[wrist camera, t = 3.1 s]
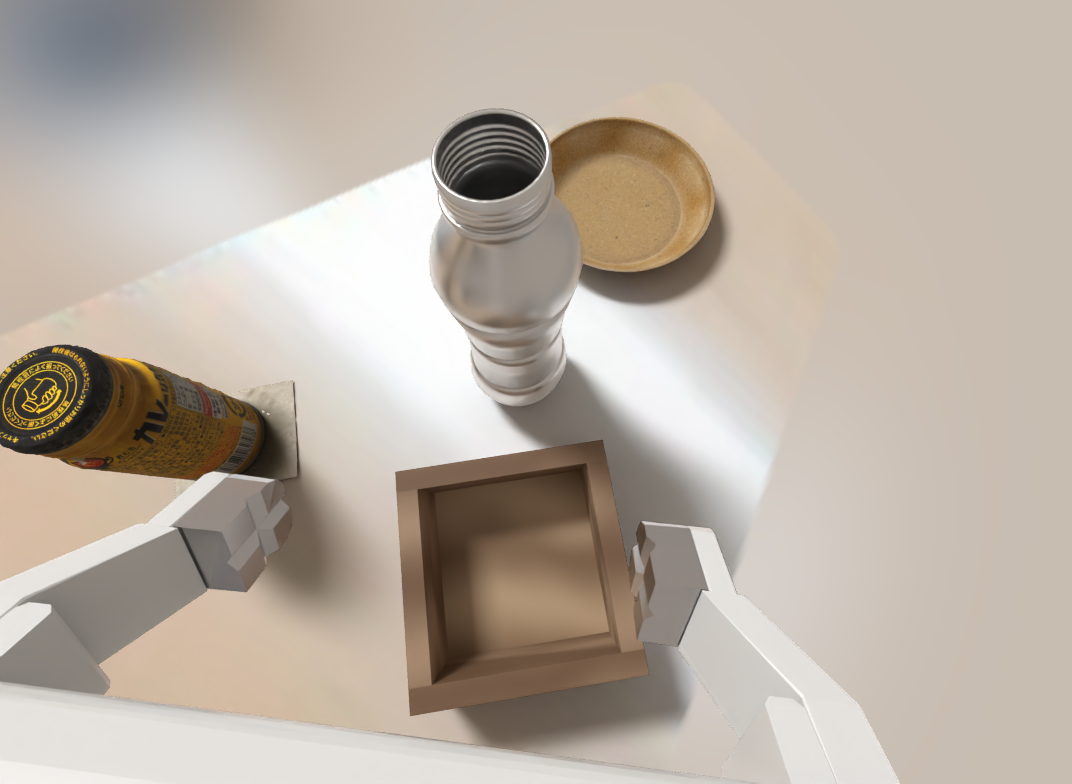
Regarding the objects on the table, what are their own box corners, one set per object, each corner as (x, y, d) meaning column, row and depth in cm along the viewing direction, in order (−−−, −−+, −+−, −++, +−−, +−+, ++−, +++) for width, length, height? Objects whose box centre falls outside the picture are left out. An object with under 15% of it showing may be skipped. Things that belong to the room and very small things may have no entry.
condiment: (179, 404, 32) (-28, 340, 20) (294, 380, 32) (154, 305, 21) (177, 503, 30) (-54, 495, 18) (299, 477, 30) (149, 453, 19)
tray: (629, 645, 27) (649, 674, 22) (433, 679, 26) (410, 716, 22) (592, 451, 30) (602, 439, 25) (418, 478, 30) (395, 471, 25)
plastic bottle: (459, 364, 32) (338, 141, 13) (531, 314, 33) (517, 42, 14) (509, 431, 31) (456, 292, 11) (582, 377, 32) (646, 168, 13)
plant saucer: (651, 121, 39) (659, 93, 36) (736, 249, 35) (751, 229, 32) (502, 175, 37) (499, 151, 35) (573, 315, 34) (576, 299, 31)
